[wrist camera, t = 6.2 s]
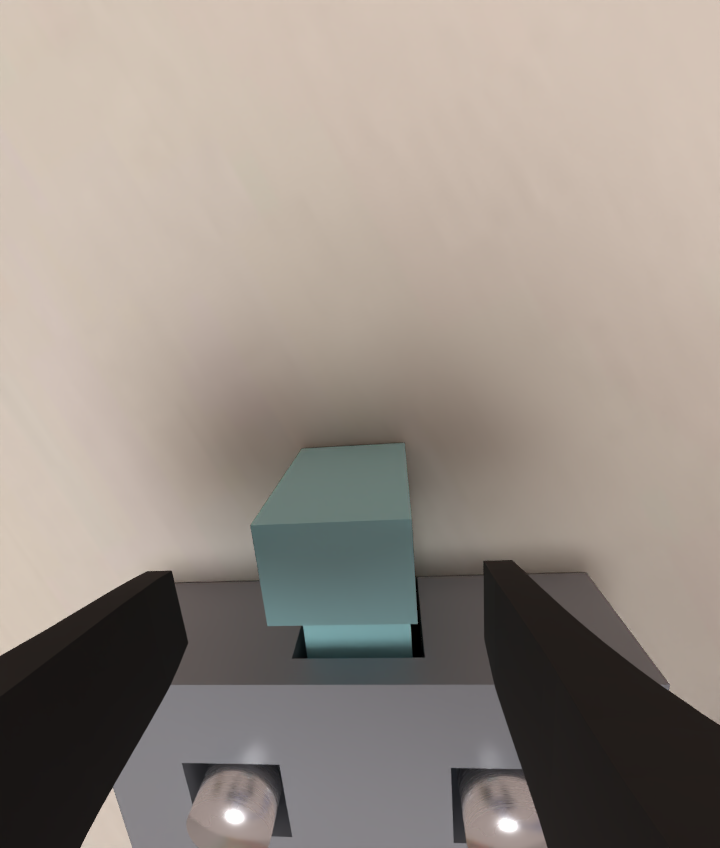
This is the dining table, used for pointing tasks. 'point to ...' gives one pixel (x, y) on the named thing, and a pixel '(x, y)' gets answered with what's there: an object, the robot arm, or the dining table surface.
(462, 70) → the dining table surface
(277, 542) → the cartridge
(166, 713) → the housing
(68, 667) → the robot arm
